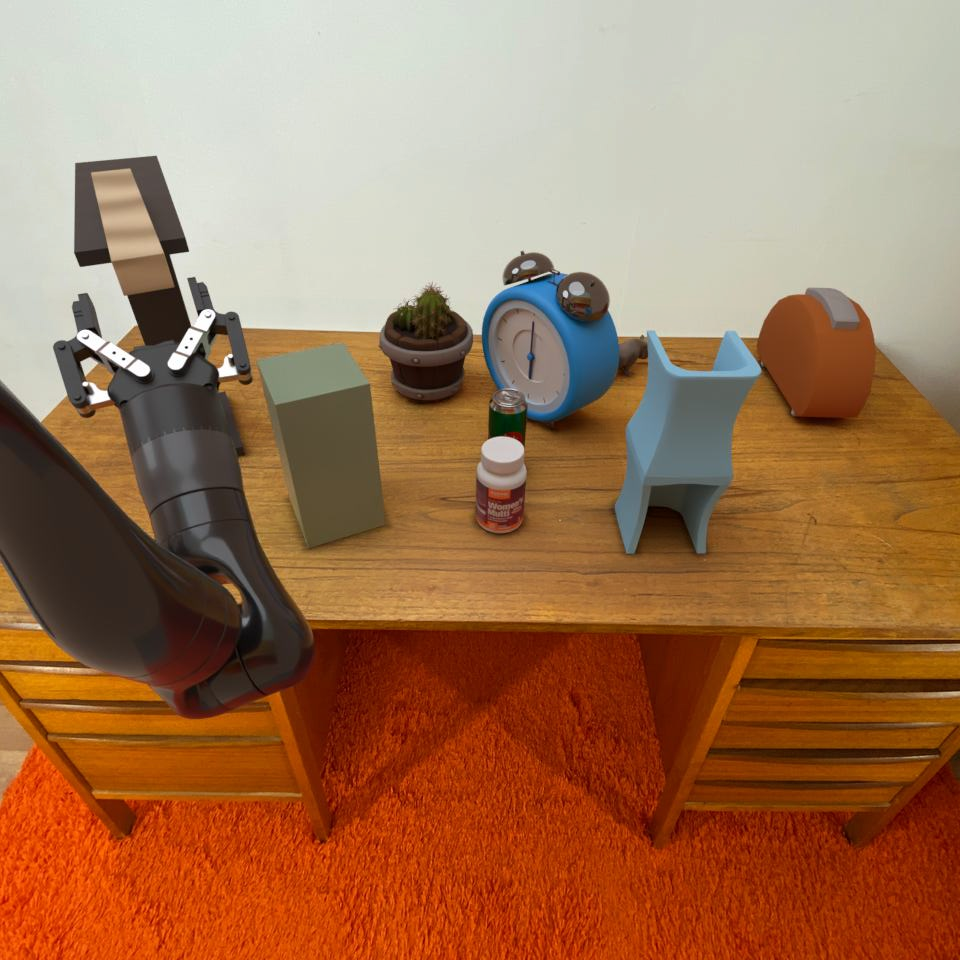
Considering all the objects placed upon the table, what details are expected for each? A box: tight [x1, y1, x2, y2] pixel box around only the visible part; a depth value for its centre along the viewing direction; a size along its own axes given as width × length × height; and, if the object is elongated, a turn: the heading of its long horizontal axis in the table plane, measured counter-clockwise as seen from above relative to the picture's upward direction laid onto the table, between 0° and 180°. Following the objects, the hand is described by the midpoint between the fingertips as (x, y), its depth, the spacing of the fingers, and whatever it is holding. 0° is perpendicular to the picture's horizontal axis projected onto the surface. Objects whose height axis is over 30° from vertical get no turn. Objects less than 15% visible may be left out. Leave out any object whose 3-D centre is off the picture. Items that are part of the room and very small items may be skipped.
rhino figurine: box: [618, 334, 648, 377], centre depth 109 cm, size 4×14×6 cm, turn 123°
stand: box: [73, 155, 246, 457], centre depth 85 cm, size 34×10×34 cm, turn 26°
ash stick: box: [91, 168, 174, 297], centre depth 62 cm, size 28×4×3 cm, turn 28°
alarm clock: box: [481, 250, 620, 431], centre depth 95 cm, size 20×10×23 cm, turn 41°
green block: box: [256, 341, 387, 550], centre depth 76 cm, size 10×10×21 cm
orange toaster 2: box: [756, 287, 877, 419], centre depth 102 cm, size 23×9×17 cm, turn 179°
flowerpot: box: [377, 281, 474, 404], centre depth 100 cm, size 14×15×20 cm
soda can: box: [487, 389, 528, 450], centre depth 86 cm, size 5×5×12 cm
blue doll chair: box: [614, 329, 762, 555], centre depth 74 cm, size 10×10×25 cm
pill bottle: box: [475, 437, 528, 534], centre depth 79 cm, size 6×6×11 cm
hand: (140, 290), depth 55 cm, fingers open, 8 cm apart
